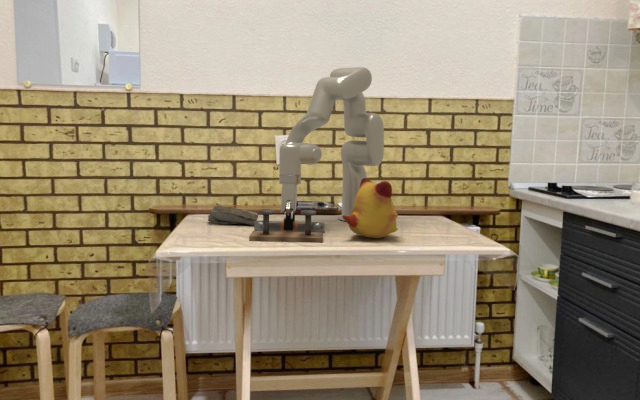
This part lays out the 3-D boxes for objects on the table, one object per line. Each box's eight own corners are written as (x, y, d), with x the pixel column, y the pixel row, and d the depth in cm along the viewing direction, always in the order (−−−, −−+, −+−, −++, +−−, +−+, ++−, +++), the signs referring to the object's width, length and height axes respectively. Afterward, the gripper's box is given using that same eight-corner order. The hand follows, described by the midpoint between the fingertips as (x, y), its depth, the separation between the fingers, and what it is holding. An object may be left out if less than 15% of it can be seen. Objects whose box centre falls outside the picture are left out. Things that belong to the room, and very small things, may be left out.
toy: (409, 240, 193) (412, 181, 190) (359, 247, 182) (361, 184, 179) (373, 230, 210) (375, 175, 207) (325, 235, 198) (326, 178, 196)
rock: (247, 239, 211) (258, 214, 211) (202, 220, 211) (212, 195, 211) (251, 237, 222) (261, 213, 222) (207, 219, 222) (218, 195, 222)
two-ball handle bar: (324, 231, 206) (324, 221, 206) (324, 234, 201) (324, 223, 201) (255, 229, 207) (255, 219, 206) (253, 232, 202) (253, 222, 201)
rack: (322, 236, 196) (323, 209, 195) (322, 242, 187) (323, 213, 186) (252, 235, 197) (252, 207, 195) (249, 240, 188) (249, 212, 186)
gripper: (281, 176, 210) (280, 222, 212) (277, 182, 193) (276, 232, 195) (301, 177, 210) (301, 223, 212) (299, 182, 193) (298, 232, 195)
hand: (289, 227), depth 204 cm, fingers open, 9 cm apart
